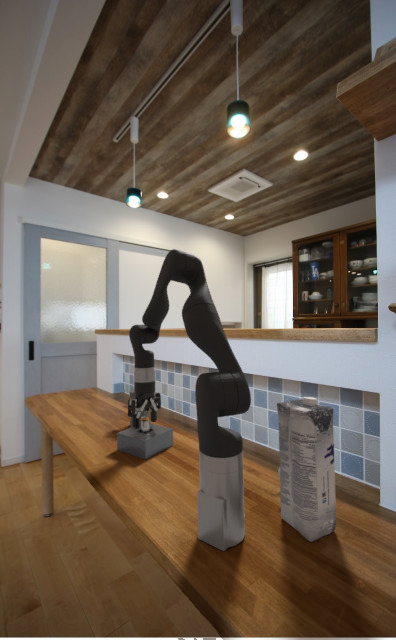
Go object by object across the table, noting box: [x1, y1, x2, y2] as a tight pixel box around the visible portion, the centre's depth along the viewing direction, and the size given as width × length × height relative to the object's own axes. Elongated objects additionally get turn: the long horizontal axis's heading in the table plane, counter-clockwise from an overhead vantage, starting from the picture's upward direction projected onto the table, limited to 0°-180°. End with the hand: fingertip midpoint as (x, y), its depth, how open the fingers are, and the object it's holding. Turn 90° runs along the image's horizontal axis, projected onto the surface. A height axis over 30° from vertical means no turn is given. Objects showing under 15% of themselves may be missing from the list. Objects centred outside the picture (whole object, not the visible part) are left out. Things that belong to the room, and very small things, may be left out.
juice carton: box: [276, 396, 337, 543], centre depth 63 cm, size 9×10×27 cm
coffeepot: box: [128, 388, 151, 428], centre depth 129 cm, size 15×9×18 cm, turn 43°
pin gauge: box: [141, 415, 150, 434], centre depth 105 cm, size 3×3×10 cm
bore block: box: [116, 422, 174, 460], centre depth 105 cm, size 14×14×6 cm
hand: (145, 424), depth 105 cm, fingers open, 8 cm apart
